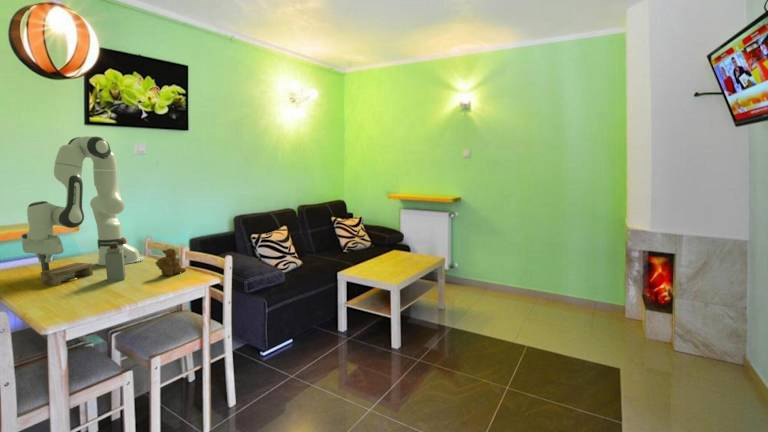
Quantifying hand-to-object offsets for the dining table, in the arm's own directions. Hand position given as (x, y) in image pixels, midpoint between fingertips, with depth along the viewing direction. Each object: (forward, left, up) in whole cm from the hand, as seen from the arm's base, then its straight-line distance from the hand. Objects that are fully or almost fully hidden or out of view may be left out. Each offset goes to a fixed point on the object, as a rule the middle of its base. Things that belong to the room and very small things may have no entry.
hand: (44, 262), depth 193 cm
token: (-11, +10, -8) cm, 17 cm away
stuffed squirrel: (-54, +22, -8) cm, 59 cm away
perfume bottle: (-30, +19, -8) cm, 37 cm away
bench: (-10, +8, -8) cm, 15 cm away
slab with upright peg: (-4, +4, -8) cm, 10 cm away
